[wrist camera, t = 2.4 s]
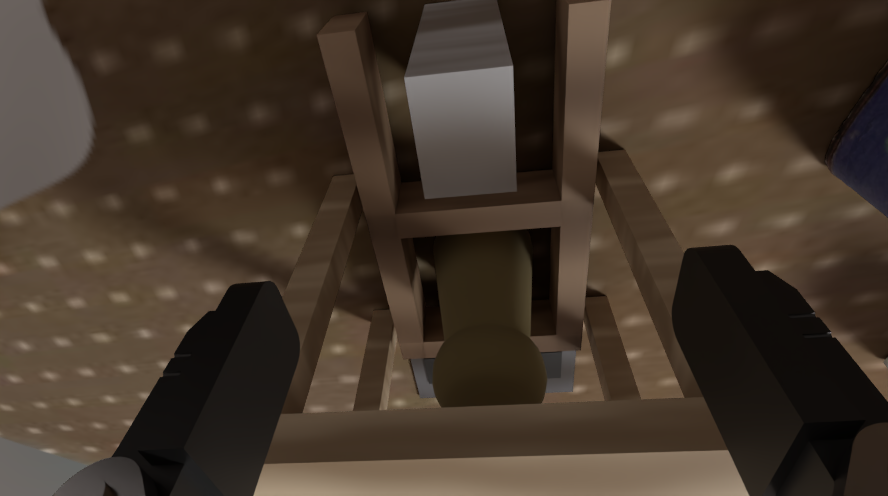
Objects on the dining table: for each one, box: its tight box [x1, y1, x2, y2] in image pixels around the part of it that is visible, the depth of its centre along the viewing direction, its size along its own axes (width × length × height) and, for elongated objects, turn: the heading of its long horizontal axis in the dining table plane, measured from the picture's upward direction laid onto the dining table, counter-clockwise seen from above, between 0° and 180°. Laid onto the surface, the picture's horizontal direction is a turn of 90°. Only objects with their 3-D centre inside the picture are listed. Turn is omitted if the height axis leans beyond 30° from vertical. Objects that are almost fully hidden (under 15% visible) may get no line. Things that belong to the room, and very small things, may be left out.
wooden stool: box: [253, 150, 749, 496], centre depth 25 cm, size 21×17×16 cm
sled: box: [317, 0, 611, 359], centre depth 23 cm, size 20×11×9 cm, turn 7°
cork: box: [432, 229, 547, 408], centre depth 25 cm, size 6×6×11 cm
